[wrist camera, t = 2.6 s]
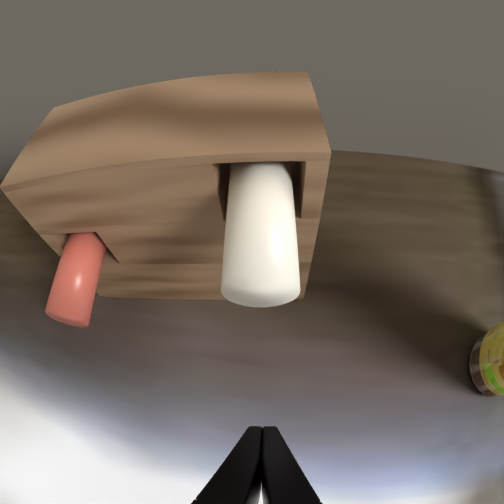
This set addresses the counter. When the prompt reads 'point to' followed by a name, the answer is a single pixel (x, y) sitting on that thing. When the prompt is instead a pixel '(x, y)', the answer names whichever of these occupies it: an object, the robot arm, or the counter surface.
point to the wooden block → (169, 175)
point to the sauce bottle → (489, 362)
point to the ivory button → (260, 236)
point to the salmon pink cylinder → (76, 279)
